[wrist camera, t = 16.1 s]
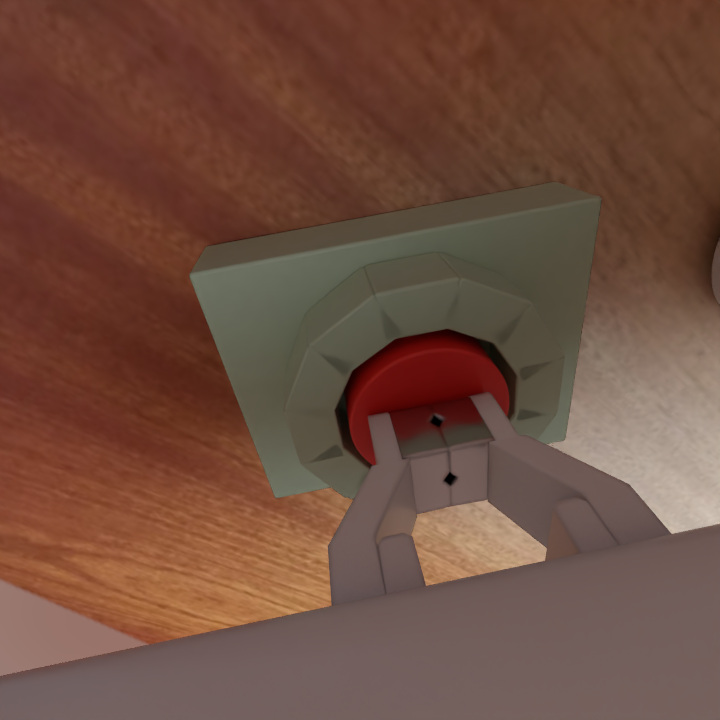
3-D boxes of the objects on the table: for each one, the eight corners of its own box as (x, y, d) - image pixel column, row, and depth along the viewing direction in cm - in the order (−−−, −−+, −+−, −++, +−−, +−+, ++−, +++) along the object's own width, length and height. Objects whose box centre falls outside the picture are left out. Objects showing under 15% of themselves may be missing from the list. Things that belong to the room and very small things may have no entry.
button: (485, 301, 11) (514, 334, 9) (484, 419, 13) (507, 461, 12) (331, 331, 11) (336, 368, 9) (355, 445, 13) (362, 490, 11)
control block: (556, 180, 12) (658, 214, 9) (535, 401, 16) (597, 482, 13) (204, 245, 12) (167, 306, 8) (277, 453, 16) (272, 548, 13)
